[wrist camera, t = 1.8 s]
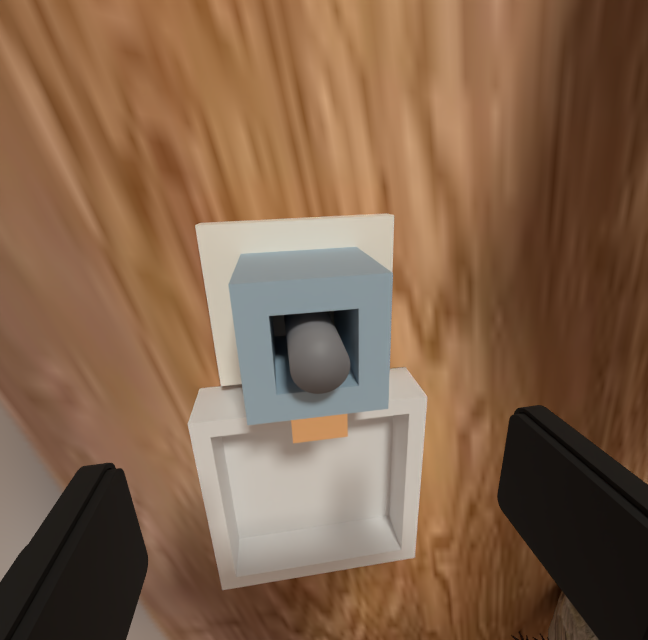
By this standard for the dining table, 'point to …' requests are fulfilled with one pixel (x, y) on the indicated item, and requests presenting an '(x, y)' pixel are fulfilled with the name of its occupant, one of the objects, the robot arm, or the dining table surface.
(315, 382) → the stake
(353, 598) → the dining table surface
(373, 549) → the tray
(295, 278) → the collar
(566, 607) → the decorative bird
